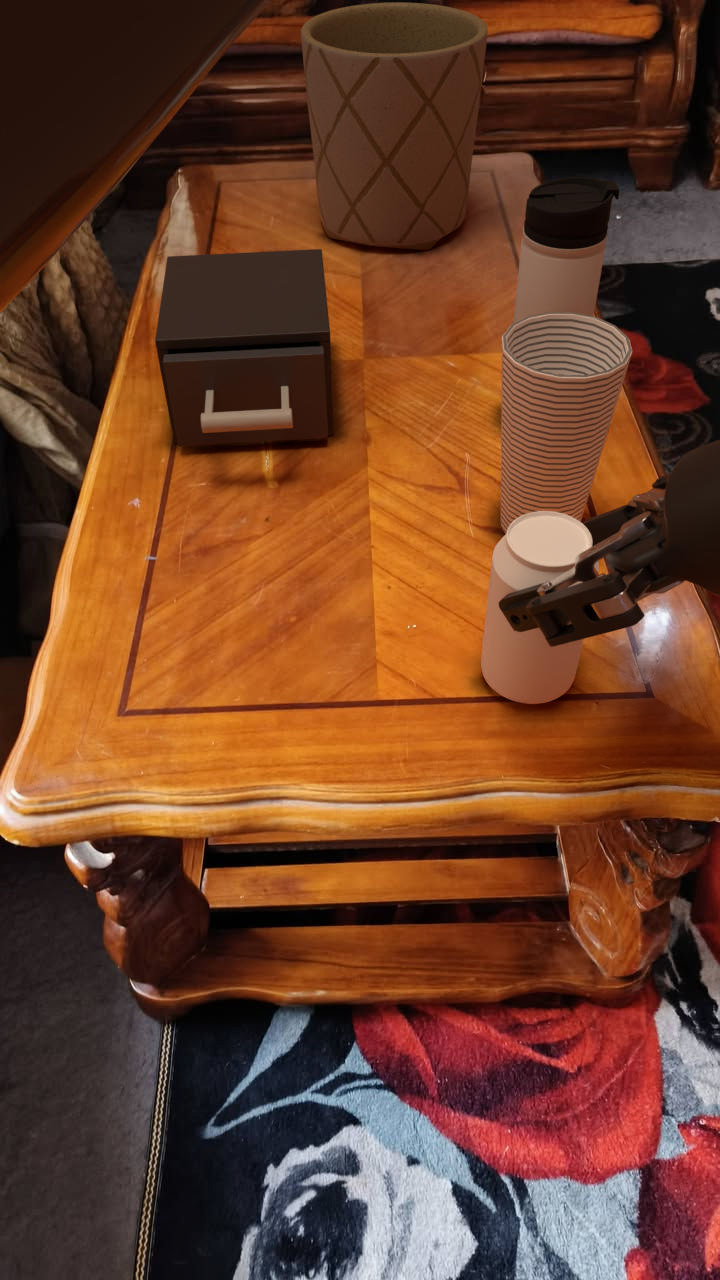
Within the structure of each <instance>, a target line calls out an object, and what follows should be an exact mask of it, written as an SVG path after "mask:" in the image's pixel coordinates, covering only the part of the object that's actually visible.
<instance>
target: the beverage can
mask: <svg viewBox="0 0 720 1280" xmlns="http://www.w3.org/2000/svg"><path fill="white" fill-rule="evenodd" d="M504 534H505V533H504ZM592 543H593V541H592V536H591V534H590V532H589V530H588V529H587V527H586V526H585V525H584V524H583V522H582V521H581V522H580V521H578V520H577V519H575V518H573V517H571V516H569V515H566V514H563V513H558V512H552V511H537V512H531V513H527V514H524V515H522V516H520V517H518V518H517V519H515V520H514V521H513V522H512V523H511V524H510V526H509V527H508V529H507V533H506V534H505V535H503V537H502V538H501V539H500V540H499V541H498V542H497V543H496V545H495V547H494V549H493V552H492V555H491V564H490V573H489V581H488V590H487V598H486V599H487V600H486V609H485V610H486V611H485V619H484V626H483V627H484V628H483V637H482V644H481V645H482V646H481V655H480V656H481V658H480V668H481V673H482V676H483V679H484V680H485V682H486V683H487V684H488V685H489V687H490V688H491V689H492V690H494V692H496V693H497V694H499V695H500V696H501V697H504V698H506V699H508V700H510V701H513V702H516V703H520V704H528V705H537V704H545V703H548V702H552V701H554V700H556V699H558V698H560V697H562V696H563V695H565V694H566V693H567V691H569V689H570V688H571V686H572V685H573V683H574V680H575V677H576V673H577V670H578V666H579V662H580V657H581V654H582V653H581V652H582V648H583V644H584V640H585V639H581V640H577V641H573V642H569V643H565V644H561V645H557V646H553V647H551V646H550V645H549V644H548V642H547V641H546V639H545V636H544V635H543V633H542V631H541V630H540V628H536V629H532V630H528V631H524V632H517V631H514V630H513V628H512V627H511V625H510V624H509V622H508V621H507V619H506V617H505V616H504V614H503V613H502V611H501V610H500V608H499V601H500V600H501V599H502V598H504V597H505V596H506V595H507V594H509V593H512V592H515V591H519V590H522V589H525V588H528V587H532V586H535V585H538V584H542V583H545V582H546V581H550V580H552V579H554V578H556V577H558V576H560V575H561V574H563V573H565V572H567V571H569V570H570V569H572V568H573V567H574V566H575V559H576V557H577V556H578V555H579V554H580V553H582V552H584V551H585V550H587V549H589V548H591V547H593V546H592ZM594 567H595V569H596V570H597V572H598V573H599V572H600V560H599V561H597V562H596V563H595V565H594ZM580 583H583V582H576V583H574V584H573V585H571V586H574V585H577V584H580ZM569 587H570V586H569Z"/></svg>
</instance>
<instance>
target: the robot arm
mask: <svg viewBox="0 0 720 1280" xmlns="http://www.w3.org/2000/svg"><path fill="white" fill-rule="evenodd" d="M272 1H273V0H0V314H1V313H2V312H3V311H4V310H5V309H6V308H7V307H8V306H9V305H10V303H11V302H12V301H13V300H15V298H16V297H18V295H19V294H20V293H21V292H22V291H23V290H24V289H25V288H26V287H27V286H28V285H29V284H30V282H31V281H32V280H34V278H35V277H36V276H37V275H38V274H39V273H40V272H41V271H42V270H43V268H44V267H45V266H46V265H47V264H48V263H49V262H50V261H51V260H52V259H53V258H54V257H55V255H56V254H58V253H59V251H60V250H61V249H62V248H63V247H64V246H65V245H66V244H67V242H68V241H69V240H70V239H71V238H72V237H73V235H75V233H76V232H77V231H78V230H79V229H80V227H81V226H82V225H83V224H84V223H85V222H86V221H87V220H88V219H89V217H90V216H91V215H92V214H93V213H94V212H95V211H96V209H97V208H99V206H100V205H101V204H102V203H103V202H104V201H105V199H106V198H107V197H108V196H109V195H110V194H111V193H112V191H114V189H115V188H116V187H117V185H119V183H120V182H121V181H122V180H123V179H124V178H125V176H126V175H127V174H128V173H129V171H130V170H131V169H132V168H133V166H134V165H135V164H136V163H137V162H138V160H139V159H140V158H141V157H142V155H144V153H145V152H146V151H147V150H148V148H149V147H150V146H151V145H152V143H153V142H154V141H155V140H156V139H157V137H158V136H159V135H160V134H161V132H162V131H163V130H164V129H165V127H166V126H167V125H168V124H169V123H170V122H171V120H172V119H173V118H174V116H175V115H176V114H177V113H178V112H179V110H180V109H181V108H182V107H183V106H184V104H185V103H186V102H187V100H188V99H189V98H190V96H191V95H192V94H193V93H194V91H195V90H196V89H197V88H198V86H199V85H201V83H202V82H203V80H204V79H205V78H206V77H207V75H208V74H209V73H210V72H211V70H212V69H213V68H214V67H215V66H216V64H217V63H218V61H219V60H220V59H221V58H222V57H223V56H224V55H225V53H227V51H228V50H229V49H230V48H231V47H232V46H233V44H234V43H235V42H236V41H237V40H238V39H239V37H241V35H242V34H243V33H244V32H245V31H246V29H248V27H249V26H250V25H251V24H252V23H253V22H254V21H255V20H256V19H257V17H258V16H259V15H260V14H261V12H263V10H264V9H265V8H267V6H268V5H269V4H270V3H271V2H272ZM651 487H652V488H651V489H649V490H648V491H646V492H642V493H638V494H636V495H634V496H633V497H632V498H631V499H630V500H629V501H628V502H627V504H625V505H621V506H620V507H616V508H613V509H611V510H609V511H605V512H603V513H599V514H597V515H595V516H592V517H589V518H587V519H586V520H585V521H584V522H582V524H584V525H585V526H586V527H587V529H588V530H589V532H590V534H591V536H592V541H593V543H592V546H593V547H591V548H589V549H587V550H585V551H584V552H582V553H580V554H579V555H578V556H577V557H576V559H575V566H574V567H573V568H572V569H570V570H569V571H567V572H565V573H563V574H561V575H560V576H558V577H556V578H554V579H552V580H550V581H546V582H545V583H542V584H538V585H535V586H532V587H528V588H525V589H522V590H519V591H515V592H512V593H509V594H507V595H506V596H505V597H504V598H502V599H501V600H500V601H499V608H500V610H501V611H502V613H503V614H504V616H505V617H506V619H507V621H508V622H509V624H510V625H511V627H512V628H513V630H514V631H517V632H524V631H528V630H532V629H536V628H540V630H541V631H542V633H543V635H544V636H545V639H546V641H547V642H548V644H549V645H550V646H551V647H553V646H557V645H561V644H565V643H569V642H573V641H577V640H581V639H584V640H585V639H588V638H592V637H596V636H600V635H603V634H607V633H611V632H615V631H619V630H623V629H627V628H630V627H634V626H636V625H638V624H639V622H641V621H642V620H643V619H644V617H645V613H644V611H643V610H642V608H641V607H640V604H639V603H638V602H640V601H642V600H643V599H645V598H648V597H650V596H651V595H653V594H658V595H662V594H665V593H667V592H668V591H671V590H672V589H674V588H676V587H678V586H680V585H682V584H684V582H688V583H691V584H693V585H696V586H698V587H699V588H701V589H703V590H705V591H707V592H709V593H711V594H713V595H715V596H718V597H720V439H717V440H714V441H712V442H710V443H707V444H705V445H701V446H700V447H697V448H694V449H692V450H690V451H689V452H687V453H686V454H684V455H683V456H682V457H680V459H679V460H678V461H676V463H675V464H674V466H673V468H672V469H671V471H670V473H669V474H667V475H662V476H661V475H660V476H659V477H658V478H657V479H655V481H654V482H653V483H652V484H651ZM604 558H605V560H606V563H607V565H608V567H609V568H610V570H611V573H607V574H606V573H605V572H602V573H600V574H599V572H597V570H596V569H595V567H594V565H595V563H596V562H597V561H599V562H600V561H601V560H603V559H604ZM576 582H583V583H580V584H577V585H574V586H571V585H573V584H574V583H576ZM569 586H570V587H569Z"/></svg>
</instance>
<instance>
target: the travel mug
mask: <svg viewBox="0 0 720 1280" xmlns="http://www.w3.org/2000/svg"><path fill="white" fill-rule="evenodd" d="M614 198H615V200H619V198H620V188H619V186H618V184H617V182H616V181H615V180H613V179H612V180H611V179H610V180H609V179H608V180H607V179H606V180H603V179H599V178H595V177H590V176H565V177H559V178H555V179H551V180H548V181H545V182H543V183H541V184H539V185H536V186H535V187H534V188H532V189H531V190H530V193H529V194H528V198H526V205H525V213H524V217H525V219H524V222H523V227H522V238H521V246H520V252H519V253H520V254H519V261H518V263H519V264H518V271H517V272H518V273H517V281H516V291H515V299H514V300H515V301H514V309H513V319H512V324H514V323H516V322H518V321H520V320H522V319H524V318H525V317H527V316H532V315H537V314H542V313H547V312H574V313H579V314H584V315H589V316H594V317H595V311H596V304H597V299H598V292H599V286H600V282H601V281H600V280H601V274H602V270H603V264H604V258H605V252H606V242H607V239H608V235H609V234H608V229H609V223H610V217H611V210H612V205H613V204H612V203H613V199H614Z"/></svg>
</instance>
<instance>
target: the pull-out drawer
mask: <svg viewBox="0 0 720 1280" xmlns="http://www.w3.org/2000/svg"><path fill="white" fill-rule="evenodd" d="M176 351H177V354H165V355H164V359H163V365H164V370H165V375H166V381H167V386H168V392H169V397H170V402H171V408H172V413H173V419H174V424H175V429H176V435H177V440H178V444H177V445H178V447H189V446H190V447H191V446H211V445H225V444H226V445H229V444H245V443H260V442H261V443H262V442H264V443H265V442H279V441H280V442H281V441H297V440H299V441H300V440H316V439H317V440H318V439H328V438H329V436H328V424H327V404H326V383H325V363H324V348H323V346H315V347H313V342H304V343H285V344H266V345H247V346H228V347H209V348H190V349H176Z"/></svg>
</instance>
